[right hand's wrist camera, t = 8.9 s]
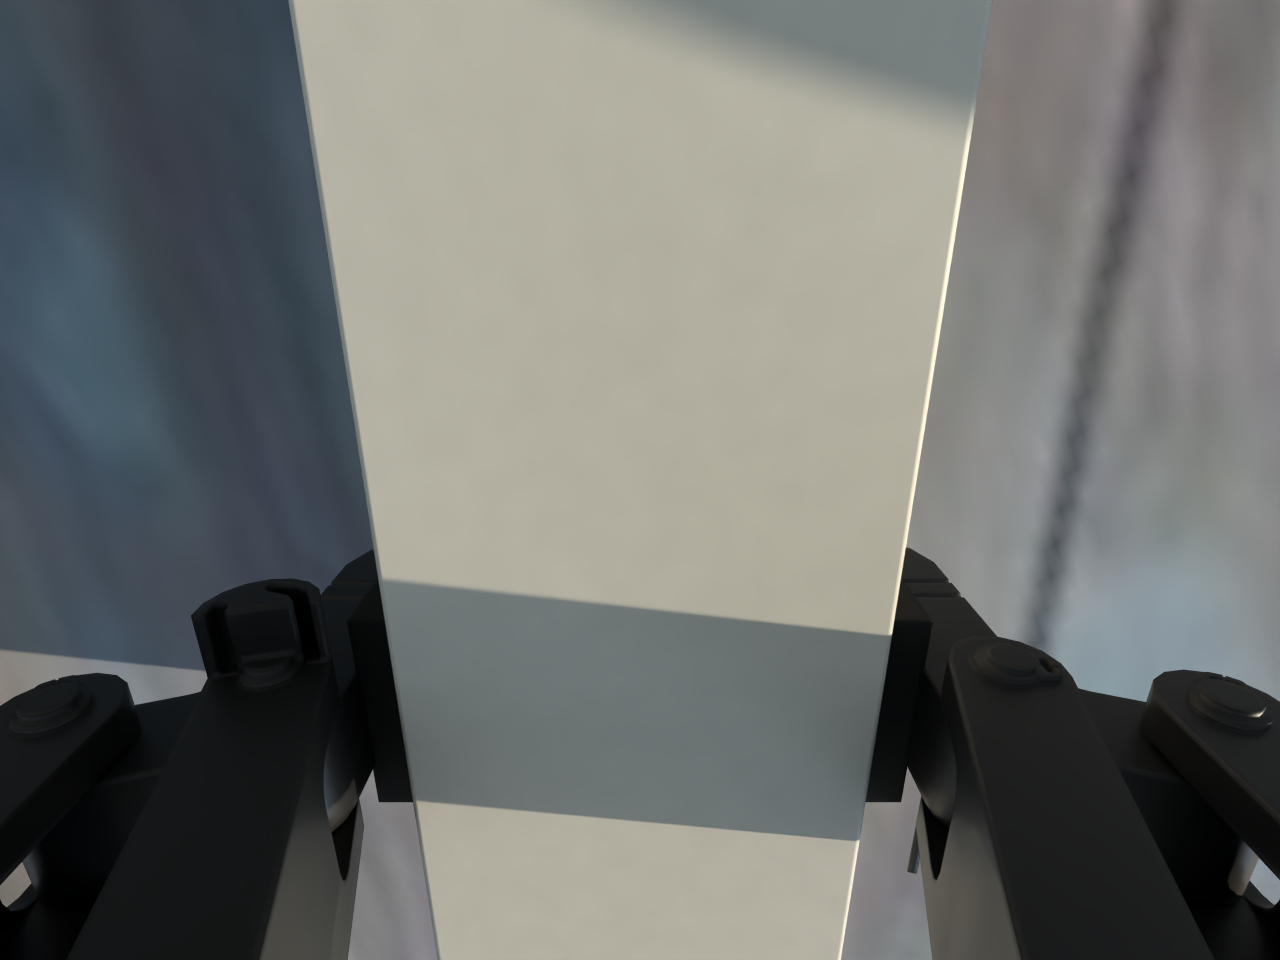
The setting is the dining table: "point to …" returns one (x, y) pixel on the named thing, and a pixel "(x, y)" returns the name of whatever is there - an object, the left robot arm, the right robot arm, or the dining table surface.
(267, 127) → the dining table surface
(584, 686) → the beam
